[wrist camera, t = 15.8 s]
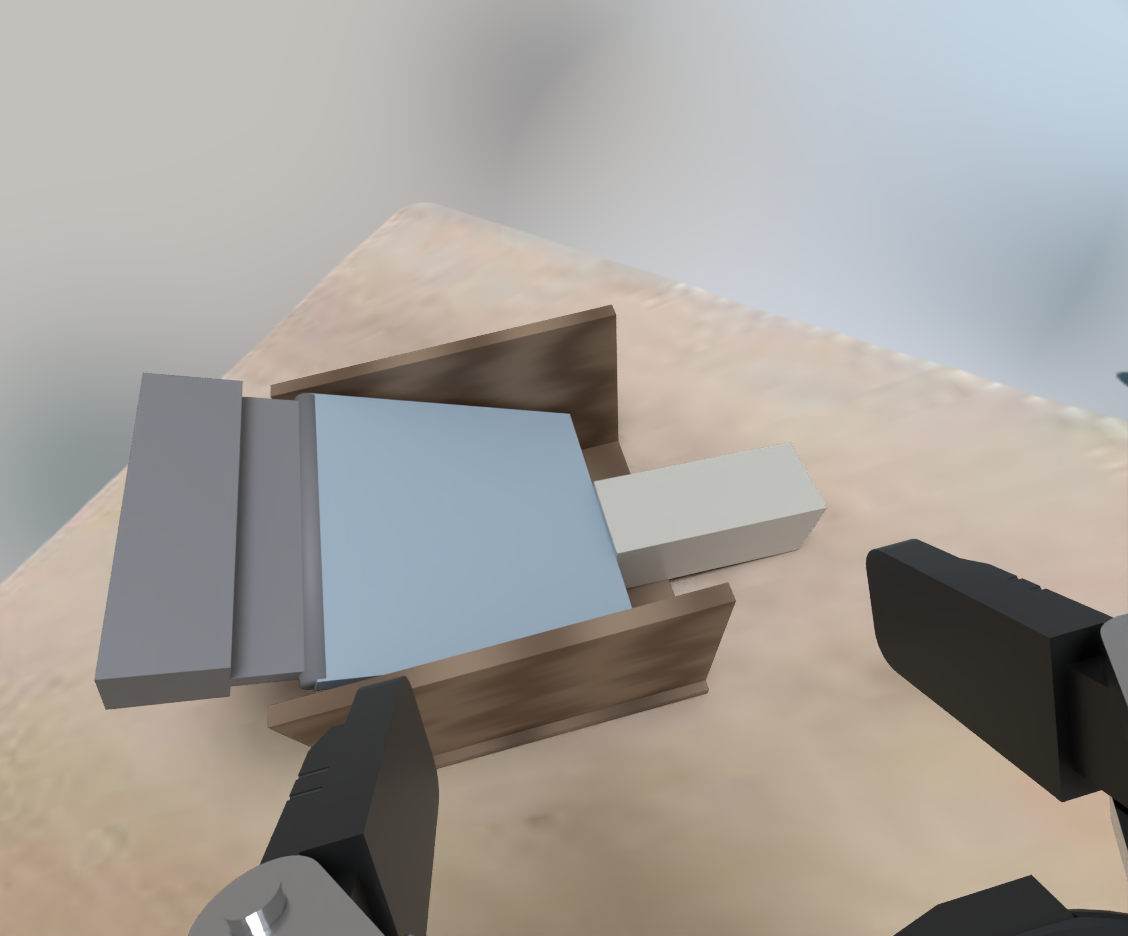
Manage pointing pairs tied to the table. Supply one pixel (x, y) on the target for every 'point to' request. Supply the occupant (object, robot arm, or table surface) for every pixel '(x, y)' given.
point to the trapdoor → (339, 539)
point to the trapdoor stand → (556, 657)
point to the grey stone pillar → (708, 513)
